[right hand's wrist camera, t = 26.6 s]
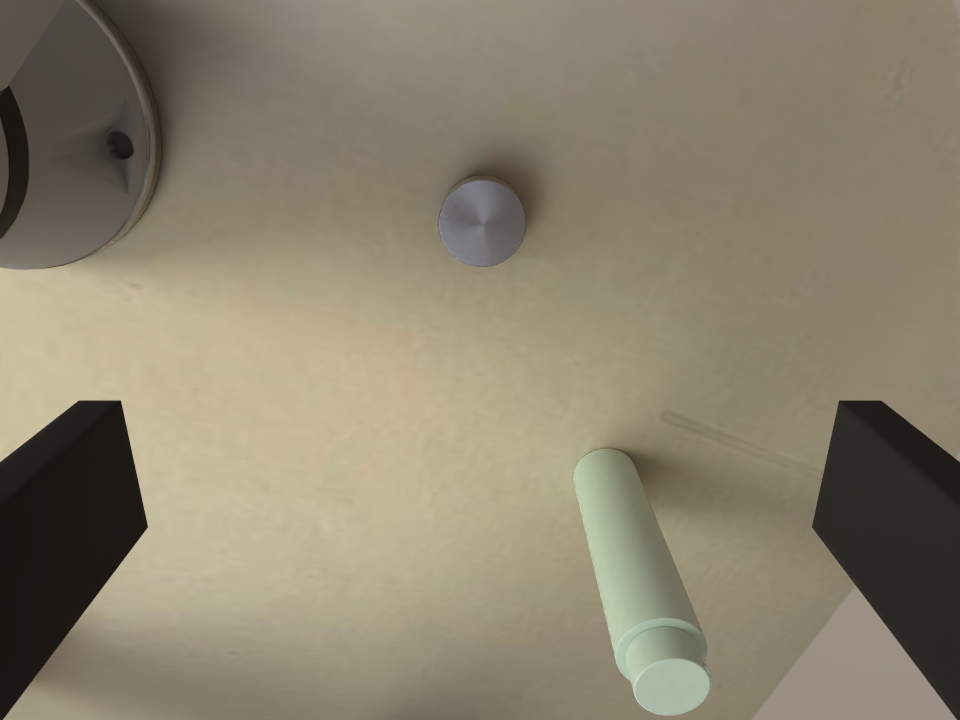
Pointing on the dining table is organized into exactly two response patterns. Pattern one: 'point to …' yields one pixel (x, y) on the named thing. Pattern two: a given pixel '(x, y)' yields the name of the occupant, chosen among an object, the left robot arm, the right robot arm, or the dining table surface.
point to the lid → (482, 221)
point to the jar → (640, 587)
